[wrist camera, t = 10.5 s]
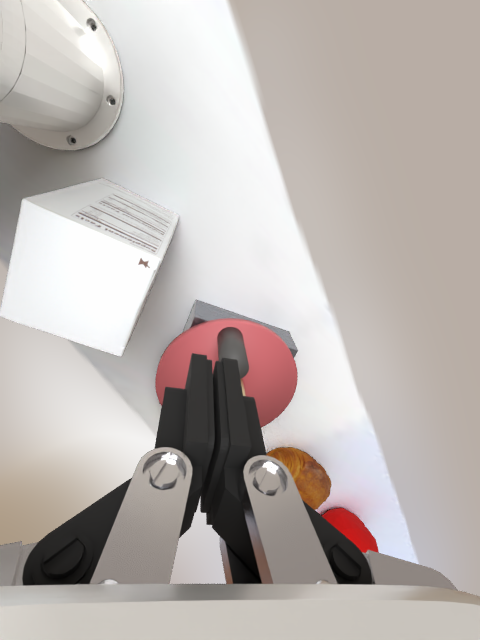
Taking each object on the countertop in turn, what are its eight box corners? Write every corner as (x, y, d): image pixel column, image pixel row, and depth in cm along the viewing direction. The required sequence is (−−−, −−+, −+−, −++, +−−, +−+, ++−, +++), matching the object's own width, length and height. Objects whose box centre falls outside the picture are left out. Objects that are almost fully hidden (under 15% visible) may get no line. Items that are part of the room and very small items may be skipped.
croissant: (298, 423, 57) (309, 456, 50) (335, 478, 62) (351, 516, 54) (230, 459, 59) (232, 496, 51) (272, 510, 64) (278, 550, 56)
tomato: (306, 494, 68) (335, 518, 74) (292, 564, 60) (326, 585, 66) (363, 504, 60) (391, 530, 66) (356, 587, 52) (388, 608, 58)
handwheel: (286, 427, 46) (299, 470, 40) (161, 432, 44) (153, 478, 38) (304, 318, 38) (324, 350, 32) (151, 317, 36) (140, 352, 30)
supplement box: (100, 174, 34) (18, 189, 19) (181, 214, 36) (165, 254, 22) (77, 254, 37) (-8, 319, 22) (152, 285, 40) (121, 361, 25)
